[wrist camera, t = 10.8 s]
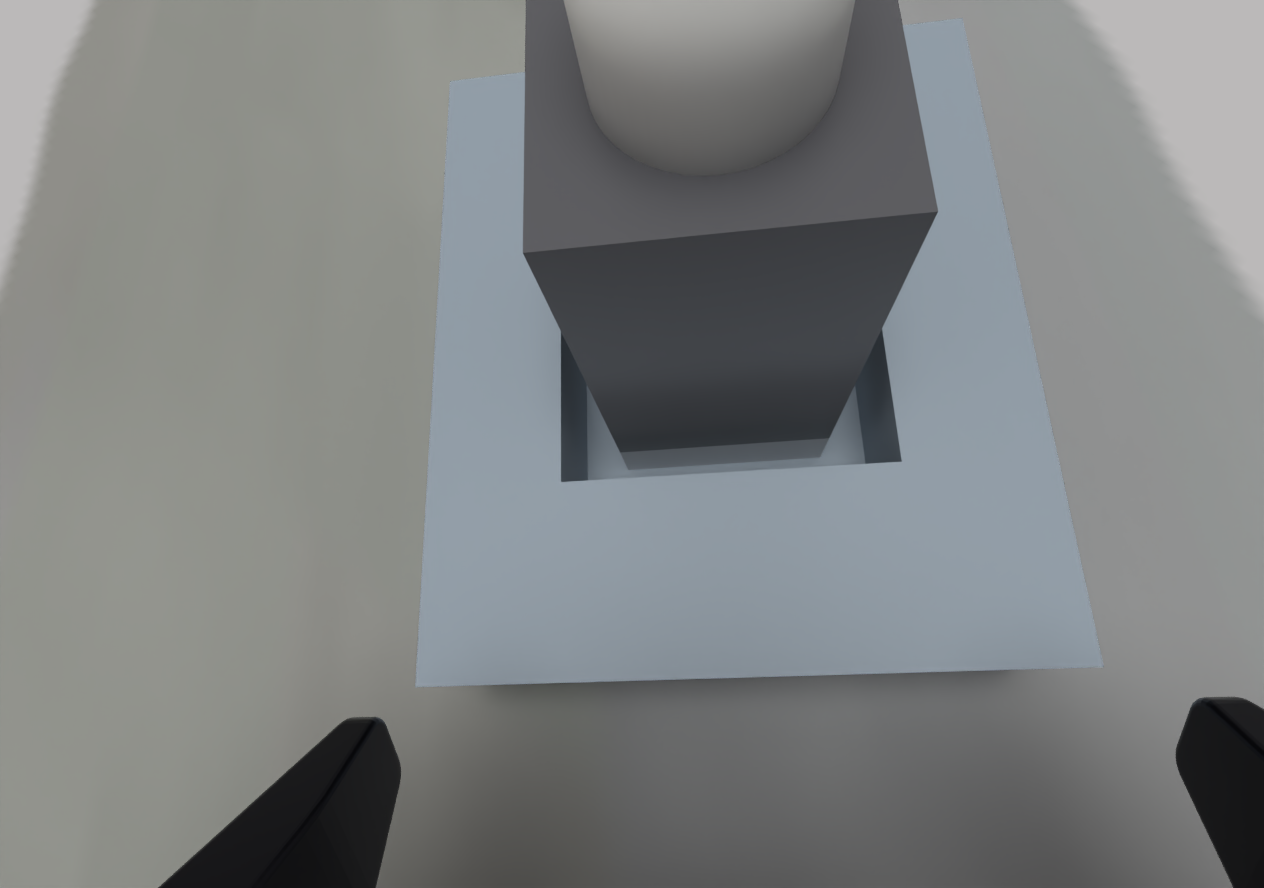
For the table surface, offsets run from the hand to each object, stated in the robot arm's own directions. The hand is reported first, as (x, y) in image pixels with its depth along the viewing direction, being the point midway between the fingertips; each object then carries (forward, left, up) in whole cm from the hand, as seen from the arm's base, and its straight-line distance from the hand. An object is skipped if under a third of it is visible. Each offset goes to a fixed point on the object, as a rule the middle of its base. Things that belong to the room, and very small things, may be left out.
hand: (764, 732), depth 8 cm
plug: (+7, +4, -7) cm, 11 cm away
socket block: (+7, +4, -8) cm, 11 cm away
